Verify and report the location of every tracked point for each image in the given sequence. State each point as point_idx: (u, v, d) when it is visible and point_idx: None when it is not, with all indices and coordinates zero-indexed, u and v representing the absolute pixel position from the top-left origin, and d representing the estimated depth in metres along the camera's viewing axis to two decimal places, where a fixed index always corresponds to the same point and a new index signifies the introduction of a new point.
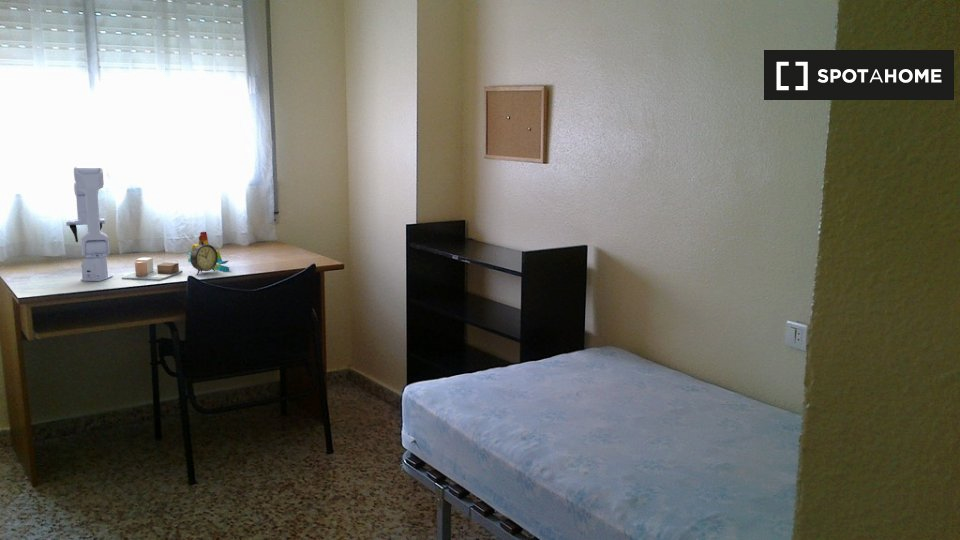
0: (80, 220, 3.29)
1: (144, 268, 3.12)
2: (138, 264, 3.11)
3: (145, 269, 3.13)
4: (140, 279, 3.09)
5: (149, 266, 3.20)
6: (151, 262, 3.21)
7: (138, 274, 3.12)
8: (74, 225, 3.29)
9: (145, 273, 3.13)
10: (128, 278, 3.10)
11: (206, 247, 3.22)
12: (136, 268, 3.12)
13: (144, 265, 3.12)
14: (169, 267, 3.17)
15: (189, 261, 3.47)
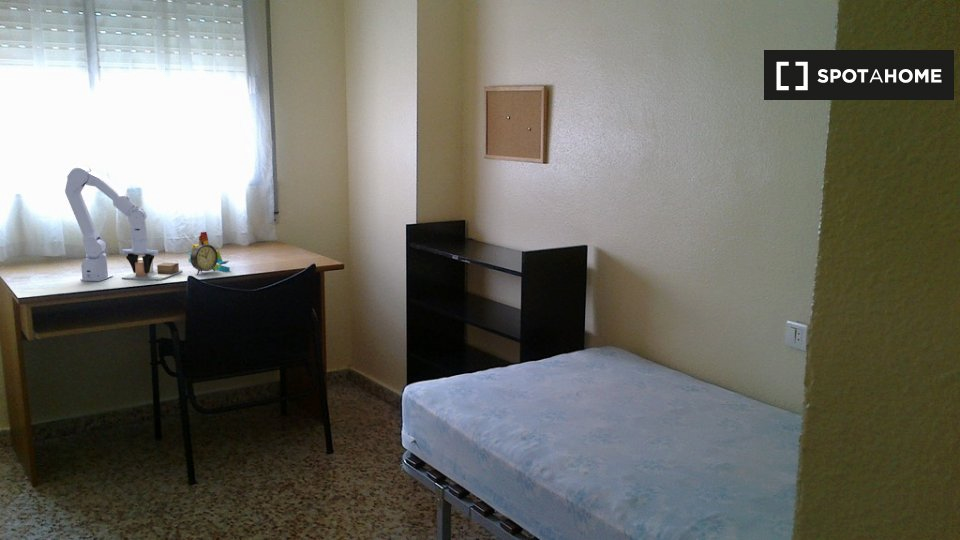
0: (132, 249, 3.10)
1: None
2: (138, 264, 3.11)
3: None
4: (140, 279, 3.09)
5: None
6: None
7: (138, 274, 3.12)
8: (129, 254, 3.12)
9: (145, 273, 3.13)
10: (128, 278, 3.10)
11: (206, 247, 3.22)
12: (136, 268, 3.12)
13: None
14: (169, 267, 3.17)
15: (189, 261, 3.46)
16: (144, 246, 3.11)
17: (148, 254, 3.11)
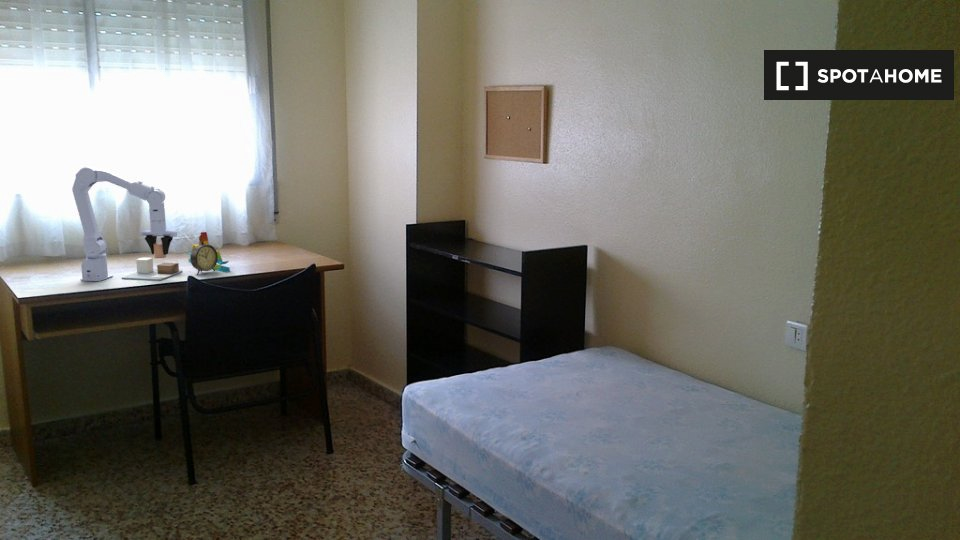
0: (150, 230, 3.09)
1: None
2: (157, 245, 3.10)
3: None
4: (140, 279, 3.09)
5: (149, 266, 3.20)
6: (151, 262, 3.21)
7: (157, 255, 3.10)
8: (147, 235, 3.11)
9: (164, 255, 3.12)
10: (128, 278, 3.10)
11: (206, 247, 3.22)
12: (155, 250, 3.10)
13: None
14: (169, 267, 3.17)
15: (189, 261, 3.46)
16: (163, 227, 3.09)
17: (167, 235, 3.10)
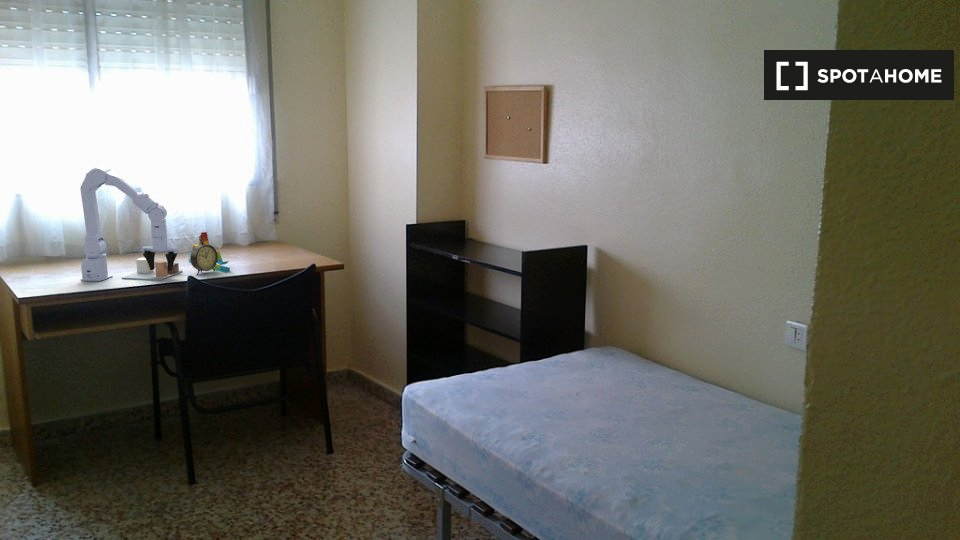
0: (152, 246, 3.10)
1: (164, 268, 3.12)
2: (158, 264, 3.11)
3: (165, 269, 3.13)
4: (140, 279, 3.09)
5: None
6: None
7: (158, 274, 3.12)
8: (148, 251, 3.12)
9: (165, 273, 3.13)
10: (128, 278, 3.10)
11: (206, 247, 3.22)
12: (156, 268, 3.12)
13: (164, 265, 3.12)
14: None
15: (190, 261, 3.46)
16: (165, 243, 3.10)
17: (168, 251, 3.11)
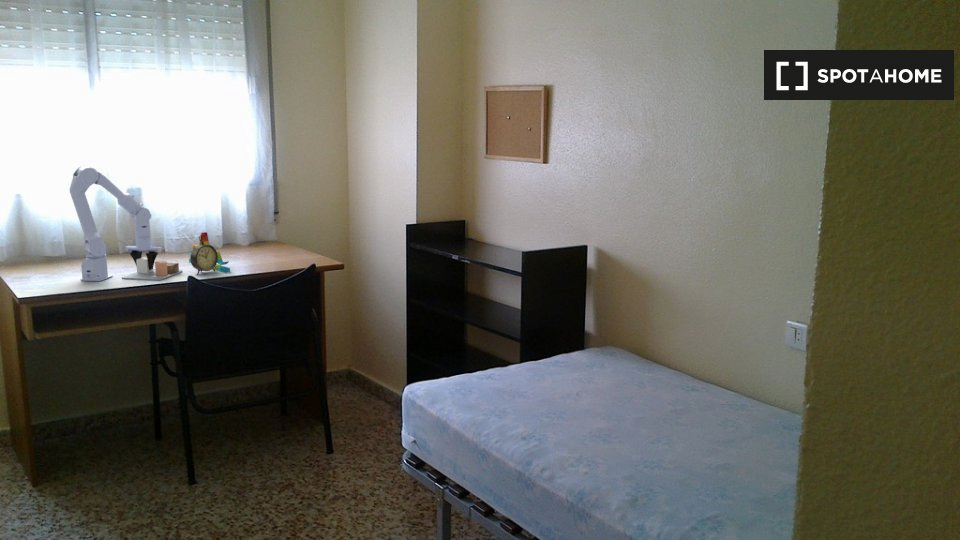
0: (136, 246, 3.17)
1: (164, 268, 3.12)
2: (158, 264, 3.11)
3: (165, 269, 3.13)
4: (140, 279, 3.09)
5: None
6: None
7: (158, 274, 3.12)
8: (132, 251, 3.19)
9: (165, 273, 3.13)
10: (128, 278, 3.10)
11: (206, 247, 3.22)
12: (156, 268, 3.12)
13: (164, 265, 3.12)
14: (169, 267, 3.17)
15: (190, 262, 3.45)
16: (148, 243, 3.18)
17: (152, 251, 3.18)
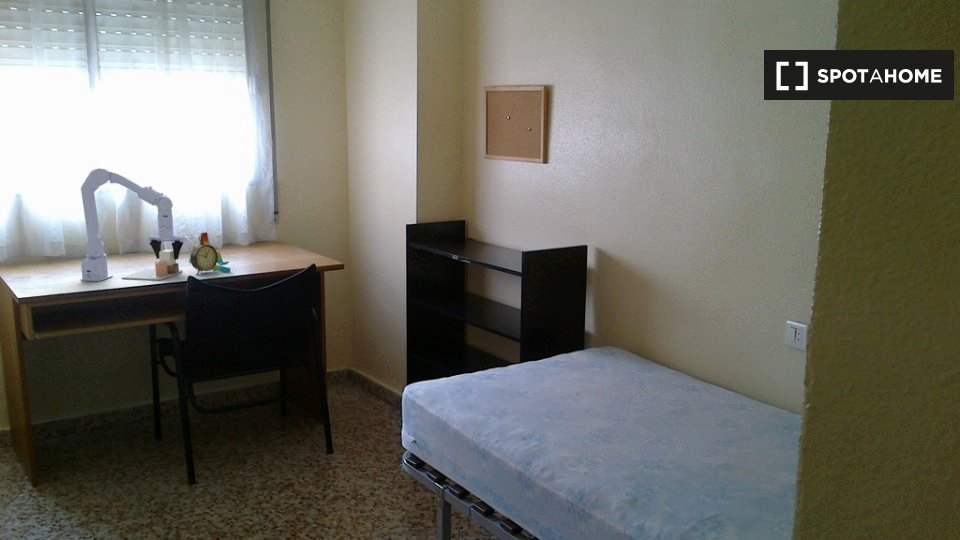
0: None
1: (164, 268, 3.12)
2: (158, 264, 3.11)
3: (165, 269, 3.13)
4: (140, 279, 3.09)
5: (172, 258, 3.19)
6: None
7: (158, 274, 3.12)
8: (155, 240, 3.18)
9: (165, 273, 3.13)
10: (128, 278, 3.10)
11: (206, 247, 3.22)
12: (156, 268, 3.12)
13: (164, 265, 3.12)
14: (169, 267, 3.17)
15: (190, 262, 3.45)
16: (171, 233, 3.17)
17: (174, 240, 3.17)
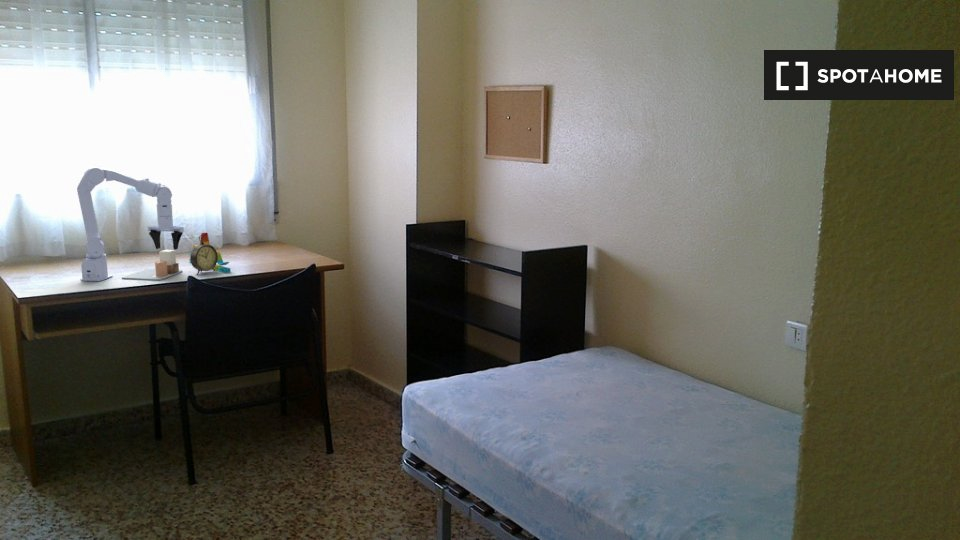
0: (158, 225, 3.16)
1: (164, 268, 3.12)
2: (158, 264, 3.11)
3: (165, 269, 3.13)
4: (140, 279, 3.09)
5: (172, 258, 3.19)
6: (174, 254, 3.21)
7: (158, 274, 3.12)
8: (154, 231, 3.17)
9: (165, 273, 3.13)
10: (128, 278, 3.10)
11: (206, 247, 3.22)
12: (156, 268, 3.12)
13: (164, 265, 3.12)
14: (169, 267, 3.17)
15: (190, 262, 3.44)
16: (170, 223, 3.16)
17: (174, 230, 3.17)
